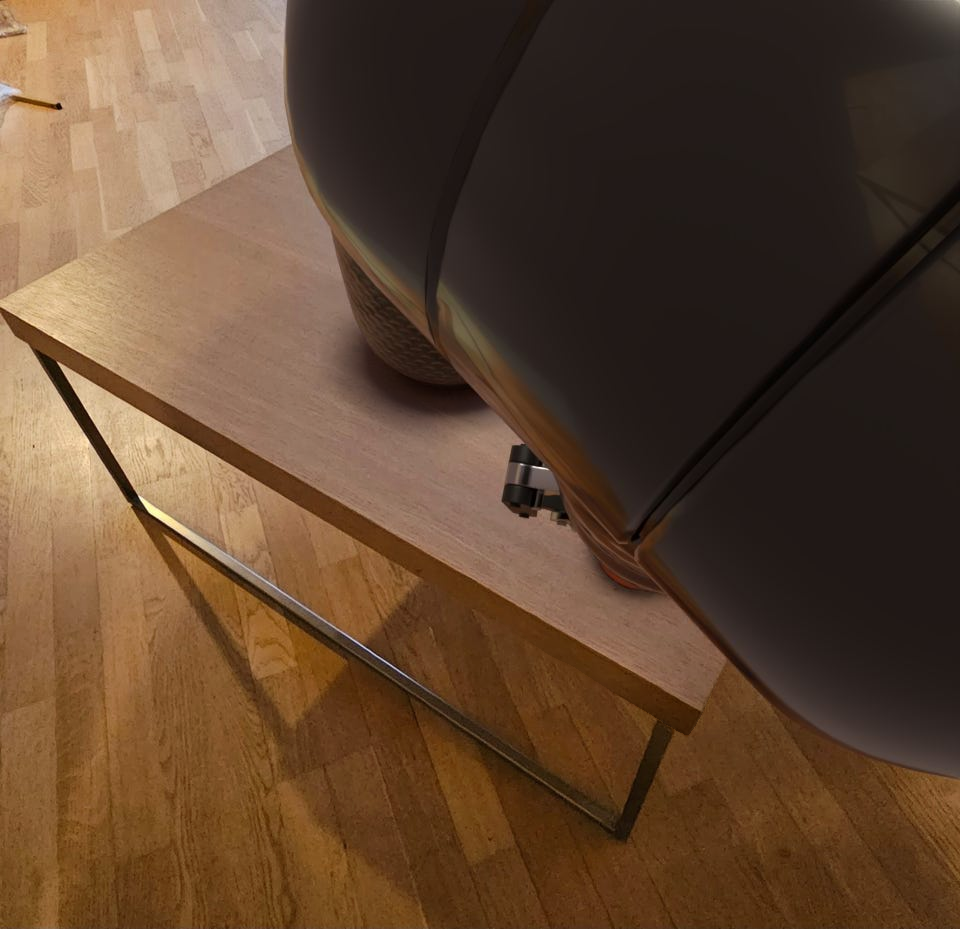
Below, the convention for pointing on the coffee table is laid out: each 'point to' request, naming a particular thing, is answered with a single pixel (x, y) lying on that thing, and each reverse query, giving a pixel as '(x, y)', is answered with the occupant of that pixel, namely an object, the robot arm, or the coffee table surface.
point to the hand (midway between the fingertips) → (660, 523)
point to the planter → (393, 330)
